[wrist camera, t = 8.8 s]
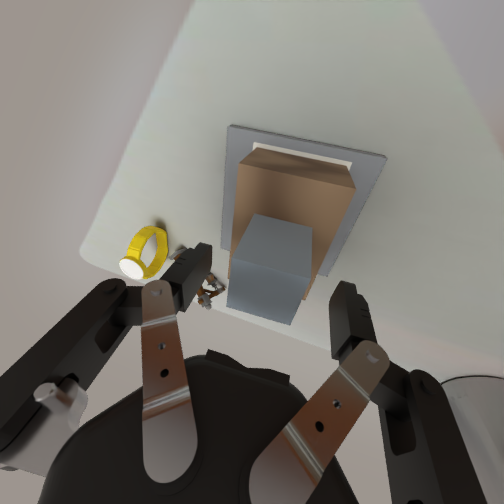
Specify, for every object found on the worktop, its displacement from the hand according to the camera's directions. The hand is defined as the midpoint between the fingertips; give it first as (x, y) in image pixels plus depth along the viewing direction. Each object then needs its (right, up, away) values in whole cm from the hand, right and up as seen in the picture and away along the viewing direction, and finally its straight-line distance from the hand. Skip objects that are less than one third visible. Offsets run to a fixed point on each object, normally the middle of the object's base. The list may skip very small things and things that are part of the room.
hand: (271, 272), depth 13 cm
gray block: (+1, +2, +2) cm, 3 cm away
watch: (-12, +3, +14) cm, 19 cm away
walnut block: (+2, +5, +6) cm, 8 cm away
